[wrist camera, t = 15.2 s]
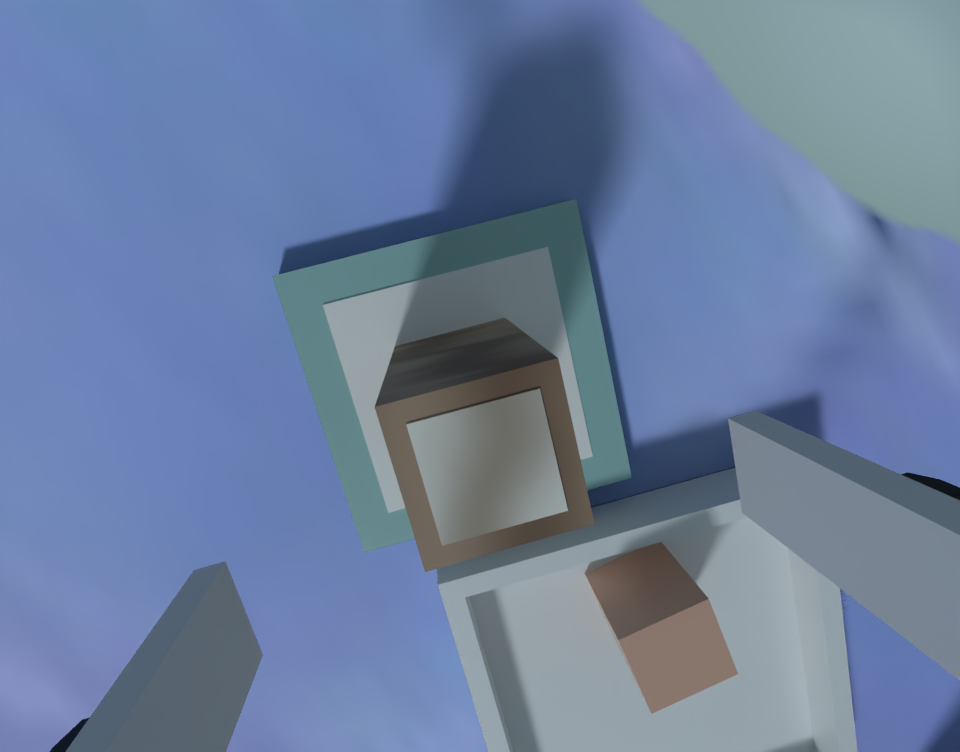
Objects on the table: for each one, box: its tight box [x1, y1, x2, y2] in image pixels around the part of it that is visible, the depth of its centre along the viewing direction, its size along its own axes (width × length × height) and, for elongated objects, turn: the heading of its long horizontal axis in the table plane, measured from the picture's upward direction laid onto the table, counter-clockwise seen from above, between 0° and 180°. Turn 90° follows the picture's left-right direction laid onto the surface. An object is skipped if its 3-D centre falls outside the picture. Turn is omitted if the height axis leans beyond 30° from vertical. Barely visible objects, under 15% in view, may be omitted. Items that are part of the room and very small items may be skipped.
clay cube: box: [585, 542, 738, 714], centre depth 31 cm, size 5×5×6 cm
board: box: [272, 199, 632, 552], centre depth 30 cm, size 16×16×1 cm
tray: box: [437, 468, 857, 752], centre depth 35 cm, size 22×24×4 cm
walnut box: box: [375, 318, 595, 572], centre depth 24 cm, size 6×6×12 cm
